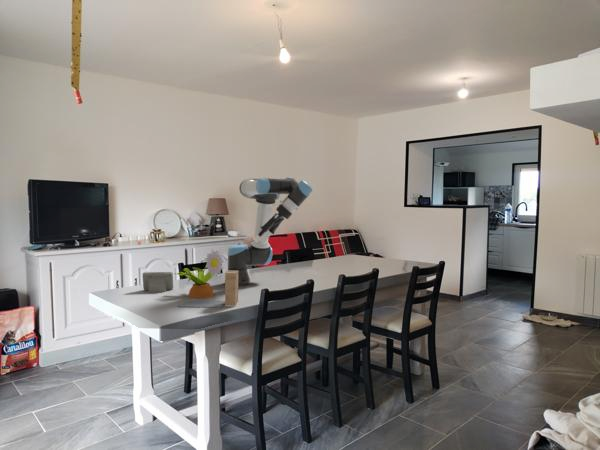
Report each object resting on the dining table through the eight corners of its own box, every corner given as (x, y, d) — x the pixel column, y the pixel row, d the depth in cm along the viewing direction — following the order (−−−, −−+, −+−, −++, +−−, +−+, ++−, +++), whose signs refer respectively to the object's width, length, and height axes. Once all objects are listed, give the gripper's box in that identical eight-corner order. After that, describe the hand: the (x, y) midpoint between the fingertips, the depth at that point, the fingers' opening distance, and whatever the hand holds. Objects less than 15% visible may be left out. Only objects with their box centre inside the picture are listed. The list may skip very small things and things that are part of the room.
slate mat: (186, 300, 214) (186, 299, 214) (225, 301, 214) (225, 300, 214) (178, 307, 201) (178, 306, 201) (220, 307, 201) (220, 307, 201)
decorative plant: (200, 302, 210) (200, 252, 209) (165, 296, 222) (165, 248, 221) (234, 292, 234) (235, 247, 232) (201, 287, 246) (201, 244, 244)
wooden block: (227, 302, 211) (228, 270, 210) (238, 302, 211) (238, 270, 210) (225, 306, 204) (225, 272, 203) (235, 306, 204) (235, 273, 203)
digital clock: (174, 289, 241) (174, 270, 240) (169, 292, 232) (169, 273, 231) (146, 288, 241) (146, 270, 240) (139, 292, 232) (139, 272, 231)
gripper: (288, 211, 194) (257, 246, 195) (296, 215, 219) (269, 246, 220) (276, 200, 195) (245, 235, 196) (285, 205, 220) (258, 236, 221)
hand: (258, 241), depth 208 cm, fingers open, 13 cm apart
